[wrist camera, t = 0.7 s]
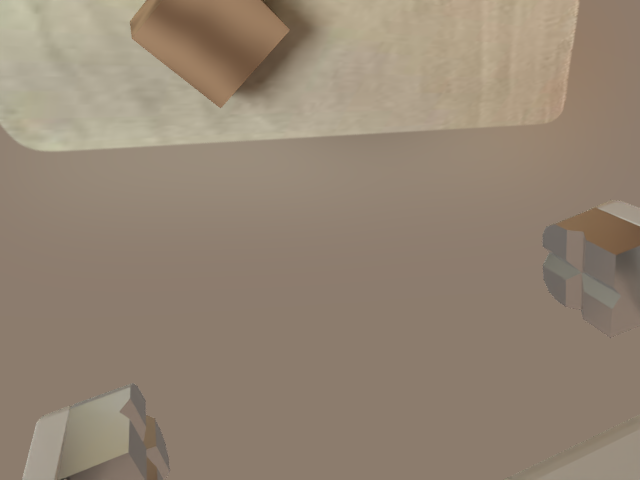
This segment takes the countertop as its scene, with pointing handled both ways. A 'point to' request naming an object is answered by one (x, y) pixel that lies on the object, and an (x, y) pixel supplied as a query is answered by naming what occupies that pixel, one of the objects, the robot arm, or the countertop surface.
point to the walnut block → (209, 40)
